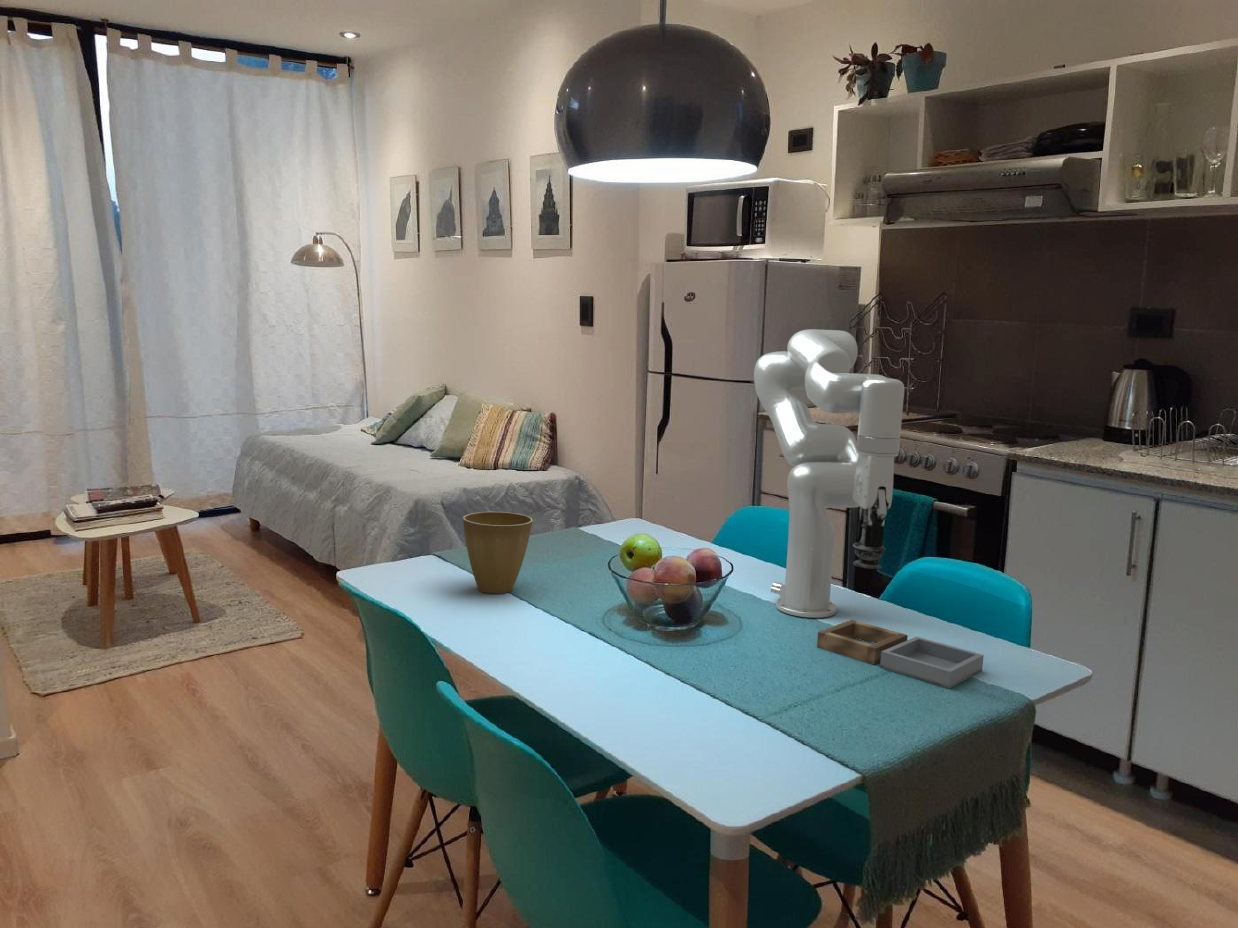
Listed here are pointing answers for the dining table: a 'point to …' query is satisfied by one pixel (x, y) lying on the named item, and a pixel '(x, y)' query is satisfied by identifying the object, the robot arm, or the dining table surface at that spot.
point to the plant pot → (496, 548)
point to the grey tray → (932, 662)
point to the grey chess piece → (867, 549)
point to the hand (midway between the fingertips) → (869, 542)
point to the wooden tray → (842, 643)
